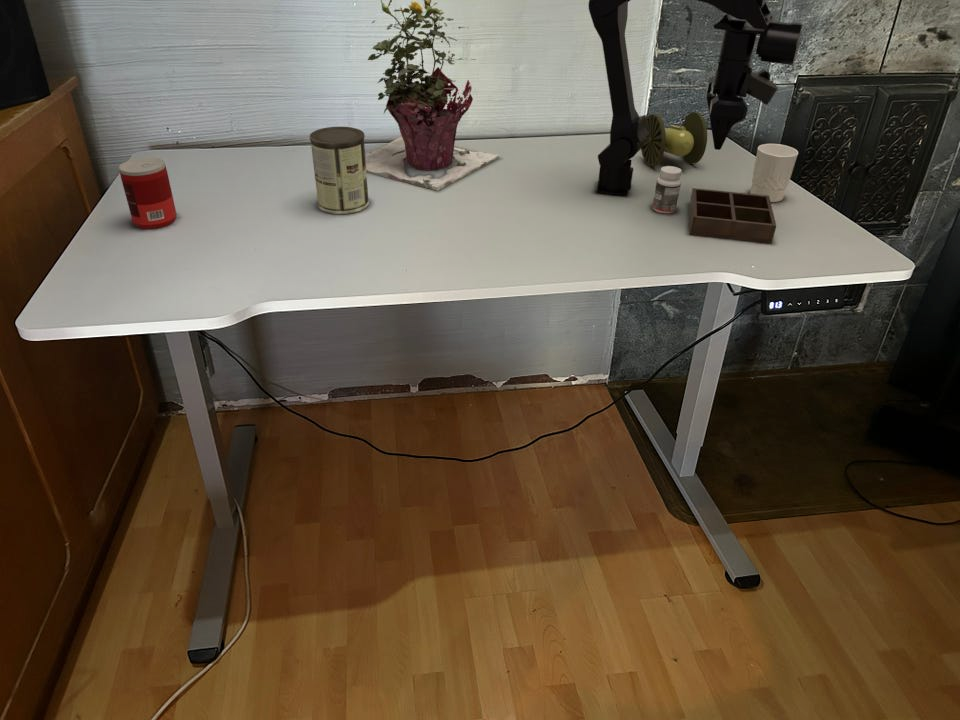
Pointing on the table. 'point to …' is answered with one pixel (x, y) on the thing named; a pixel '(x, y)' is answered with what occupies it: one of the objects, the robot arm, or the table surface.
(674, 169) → the pill bottle
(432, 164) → the potted flower
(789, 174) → the white cup
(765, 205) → the rack
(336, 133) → the coffee can
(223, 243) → the table surface
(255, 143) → the table surface
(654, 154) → the cannon
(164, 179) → the canned food
